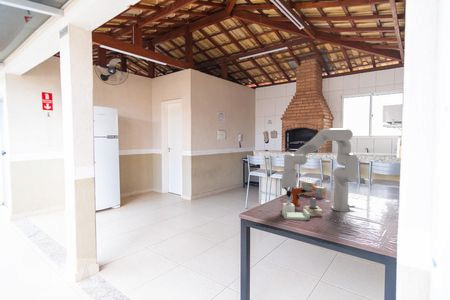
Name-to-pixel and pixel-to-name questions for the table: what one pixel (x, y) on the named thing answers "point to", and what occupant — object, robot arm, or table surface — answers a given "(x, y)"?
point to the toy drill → (295, 196)
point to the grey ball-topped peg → (288, 200)
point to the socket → (314, 211)
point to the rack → (296, 215)
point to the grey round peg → (312, 203)
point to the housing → (289, 207)
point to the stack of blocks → (313, 189)
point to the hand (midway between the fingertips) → (288, 196)
